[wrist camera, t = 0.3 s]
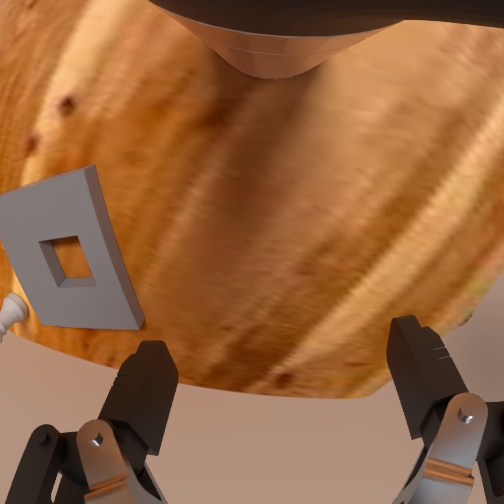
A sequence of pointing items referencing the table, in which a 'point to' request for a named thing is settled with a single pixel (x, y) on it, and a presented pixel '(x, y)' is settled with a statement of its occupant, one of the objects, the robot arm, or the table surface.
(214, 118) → the table surface
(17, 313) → the rook chess piece
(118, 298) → the socket dock
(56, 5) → the table surface
